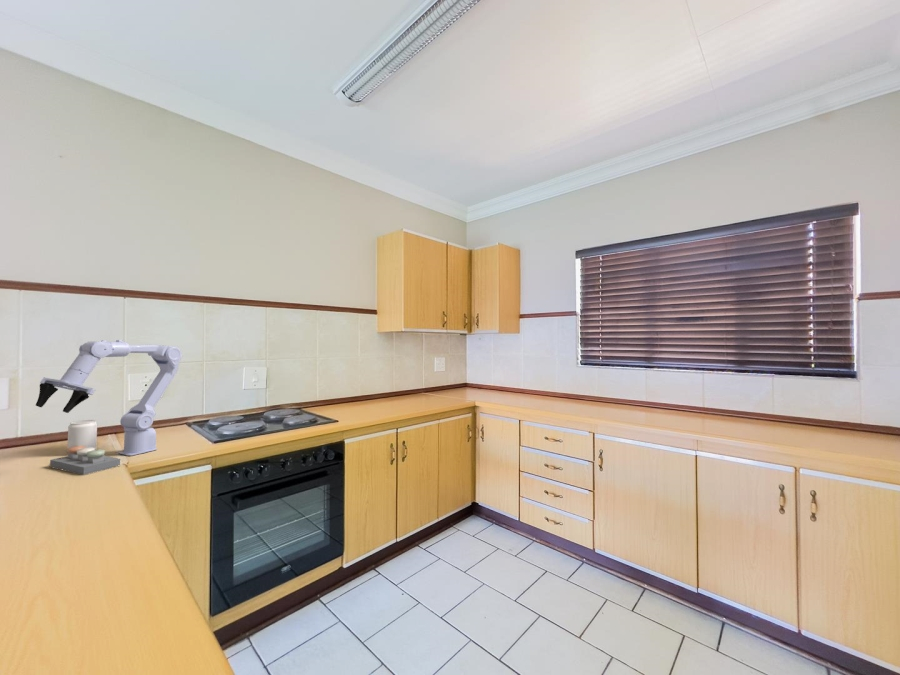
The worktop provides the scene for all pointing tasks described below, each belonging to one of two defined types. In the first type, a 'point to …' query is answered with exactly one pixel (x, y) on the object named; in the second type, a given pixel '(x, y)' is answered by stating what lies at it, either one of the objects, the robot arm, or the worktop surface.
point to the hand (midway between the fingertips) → (51, 409)
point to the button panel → (83, 464)
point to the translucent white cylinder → (82, 434)
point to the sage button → (95, 456)
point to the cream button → (83, 453)
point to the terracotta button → (73, 451)
